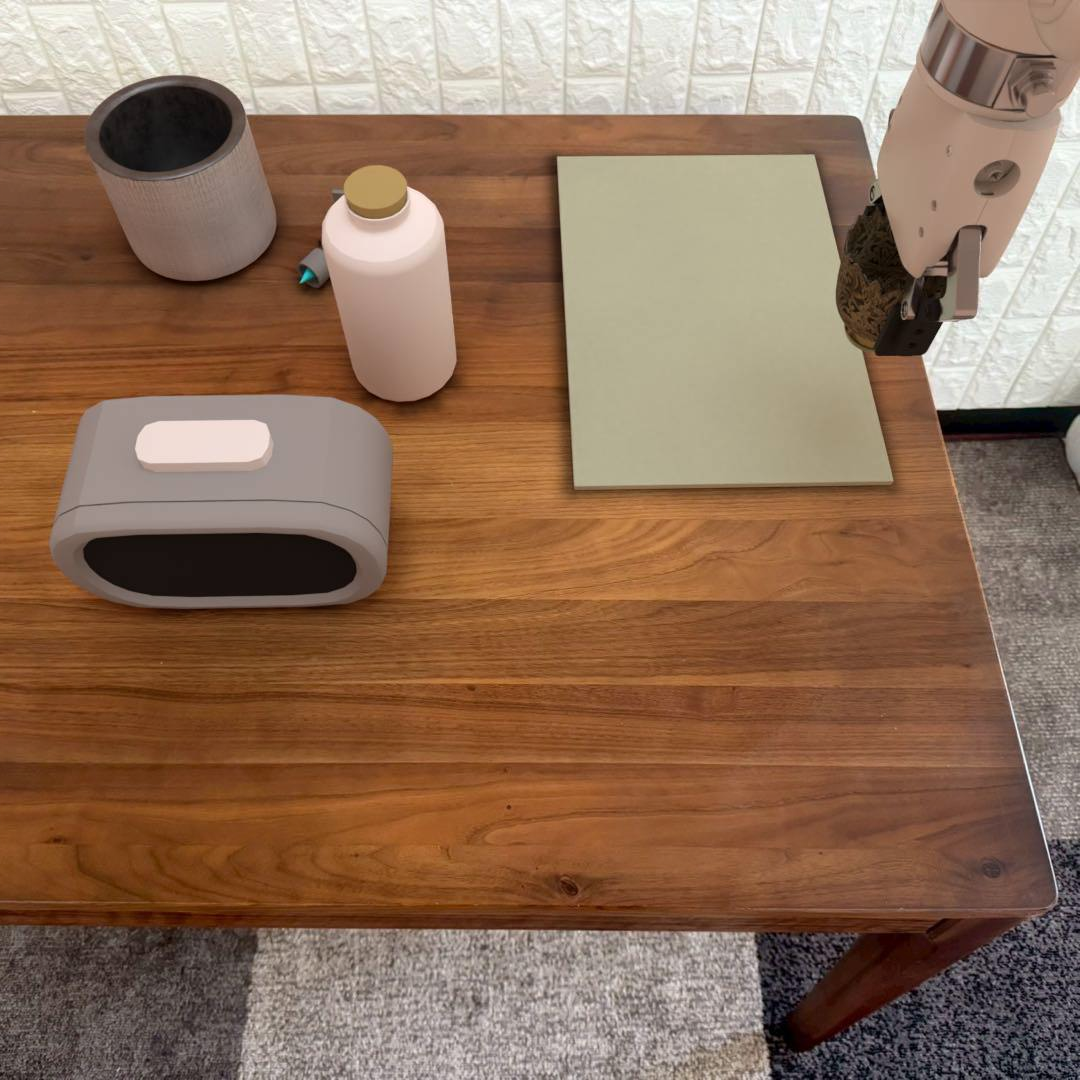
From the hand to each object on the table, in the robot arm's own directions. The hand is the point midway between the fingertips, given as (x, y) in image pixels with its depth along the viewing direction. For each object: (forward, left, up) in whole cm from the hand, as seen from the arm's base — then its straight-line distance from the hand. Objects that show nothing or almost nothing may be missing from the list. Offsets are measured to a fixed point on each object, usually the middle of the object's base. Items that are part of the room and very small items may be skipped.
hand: (885, 301), depth 61 cm
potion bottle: (+8, +32, -15) cm, 37 cm away
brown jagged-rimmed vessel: (0, 0, -3) cm, 3 cm away
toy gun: (+19, +36, -15) cm, 43 cm away
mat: (+14, +7, -15) cm, 22 cm away
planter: (+23, +51, -15) cm, 57 cm away
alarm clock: (-9, +43, -15) cm, 46 cm away
